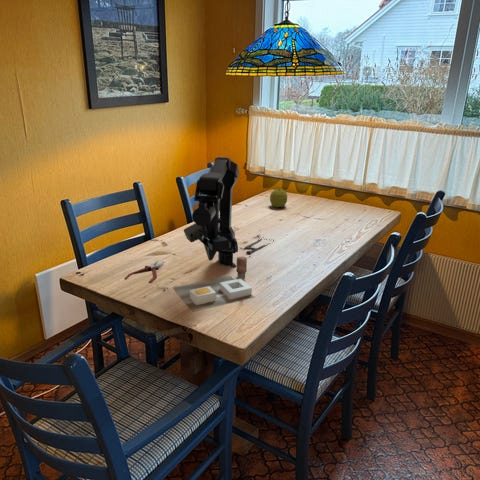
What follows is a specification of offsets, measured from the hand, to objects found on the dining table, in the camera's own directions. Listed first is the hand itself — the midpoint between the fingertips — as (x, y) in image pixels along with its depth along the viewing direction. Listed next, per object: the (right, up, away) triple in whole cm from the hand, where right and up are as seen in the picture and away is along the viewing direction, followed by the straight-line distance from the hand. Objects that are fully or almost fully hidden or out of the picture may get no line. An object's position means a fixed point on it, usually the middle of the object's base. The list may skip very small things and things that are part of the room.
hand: (210, 259), depth 146 cm
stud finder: (-2, -13, -3) cm, 13 cm away
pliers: (-23, -7, +17) cm, 29 cm away
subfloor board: (+1, -12, +3) cm, 13 cm away
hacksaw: (+16, +4, +49) cm, 52 cm away
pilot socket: (+8, -11, +3) cm, 14 cm away
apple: (+31, +25, +103) cm, 110 cm away
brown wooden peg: (+10, -8, +14) cm, 19 cm away
